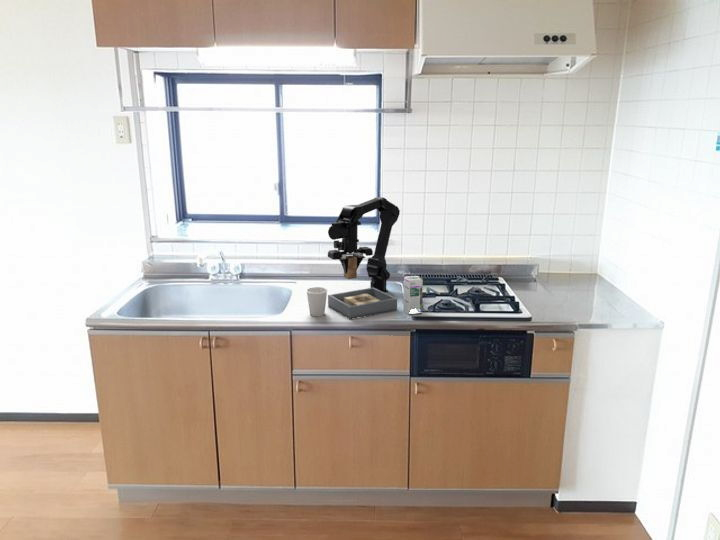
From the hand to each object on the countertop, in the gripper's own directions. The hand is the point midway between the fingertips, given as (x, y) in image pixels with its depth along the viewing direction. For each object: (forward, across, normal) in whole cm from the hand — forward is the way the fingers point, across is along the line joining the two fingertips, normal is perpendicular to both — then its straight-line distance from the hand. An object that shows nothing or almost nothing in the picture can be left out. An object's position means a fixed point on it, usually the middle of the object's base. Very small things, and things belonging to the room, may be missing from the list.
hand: (350, 272), depth 226 cm
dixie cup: (+12, +20, +10) cm, 25 cm away
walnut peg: (+2, 0, 0) cm, 2 cm away
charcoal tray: (+12, +1, +12) cm, 17 cm away
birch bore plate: (+12, +1, +12) cm, 17 cm away
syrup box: (+12, -15, +25) cm, 32 cm away
